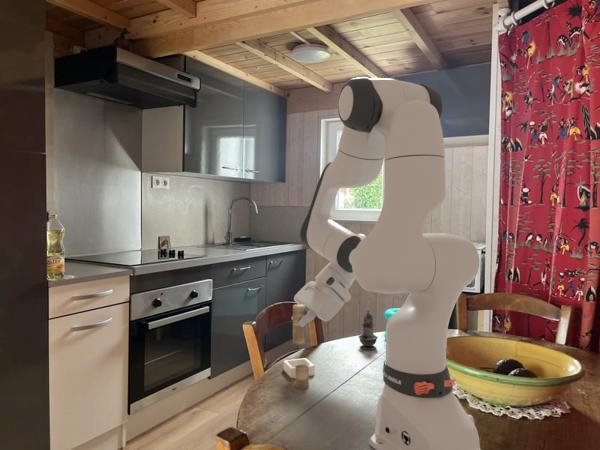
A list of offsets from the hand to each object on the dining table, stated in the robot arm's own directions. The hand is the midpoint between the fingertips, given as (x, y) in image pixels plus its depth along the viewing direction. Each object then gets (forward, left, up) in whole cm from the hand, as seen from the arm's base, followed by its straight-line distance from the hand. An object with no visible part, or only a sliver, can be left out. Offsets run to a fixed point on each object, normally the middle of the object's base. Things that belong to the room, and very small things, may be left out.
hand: (296, 323), depth 118 cm
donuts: (+16, -42, -14) cm, 47 cm away
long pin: (0, -1, -5) cm, 5 cm away
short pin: (-10, +2, -13) cm, 17 cm away
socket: (0, -1, -13) cm, 13 cm away
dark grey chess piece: (+12, -28, -14) cm, 34 cm away
